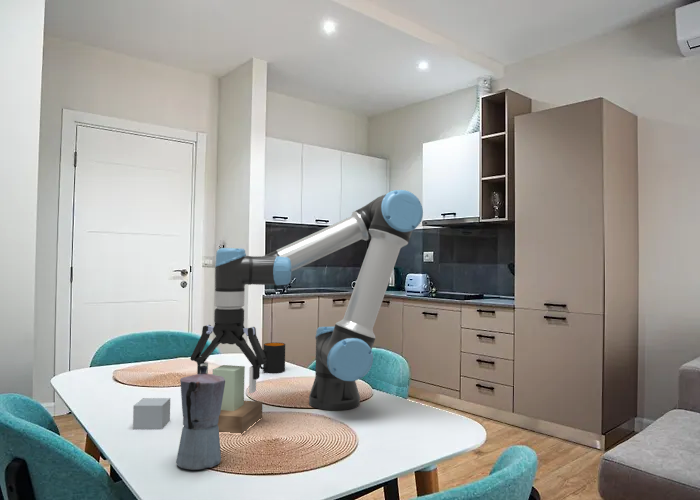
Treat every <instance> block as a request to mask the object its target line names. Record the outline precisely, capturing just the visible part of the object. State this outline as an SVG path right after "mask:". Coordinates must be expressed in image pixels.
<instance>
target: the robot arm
mask: <svg viewBox="0 0 700 500" xmlns="http://www.w3.org/2000/svg"><path fill="white" fill-rule="evenodd" d="M351 213H352V214H351V215H350V216H349V217H346V218H344V219H343V220H340V221H338V222H336V223H334V224H331V225H329V226H327V227H324V228H323V229H320V230H318V231H316V232H315V231H314V233H312V234H309V235H307V236H305V237H303V238H300V239H298V240H296V241H294V242H292V243H289V244H287V245H285V246H282V247H281V248H278V249H276V250H274V251H272V252H270V253H267V254H264V255H263V256H258V255H257V256H256V255H255V256H254V255H253V256H252V255H247V253H246V250H245V248H240V247H238V248H234V247H233V248H232V247H221V248H219V249H217V251H216V254H215V265H214V270H215V271H214V282H215V283H214V306H215V307H216V308H215V309H214V314H213V315H214V316H213V317H214V319H213V320H214V325H213V326H212V325H211V324H207V325H203V326H202V328H201V329H202V332H201V335H200V337H199V339H198V342H197V344H196V345H195V347H194V349H193V351H192V354H191V356H190V360H191V361H193V362H195V363H196V364H197V369H196V371H197V372H196V374H200V373H201V372H200V366H207V371H206V374H209V362H208V361H207V359H208V358H209V357H210V356H211V355H212V353H213V352H214V351H215V350H216V348H218V346H219V345H220V344H221V345H226V344H228V345H236V346H237V347H238V348H239V349H240V351H241V352H242V354H244V355H243V356H245V357H246V358H247V360H248V362H249V363H250V364H251V366H250V367H249V377H248V378H249V379H248V381H249V382H248V383H249V385H248V389H249V390H248V394H253V393H255V392H256V391H257V380H259V379H260V375H261V374H260V372H261V370H260V365H261V366H263V364H265V363H267V359H266V356H265V354H264V352H263V350H264V349H263V347H262V346H261V343H260V341H259V338H258V337H257V328H256V327H255V326H251V327H245V309H244V308H243V307H244V306H245V289H246V288H245V287H246V285H248V286H251V285H258V286H259V285H260V286H262V285H263V286H285V285H289V284H290V282H291V280H292V272H293V271H296V270H298V269H300V268H302V267H304V266H306V265H309V264H311V263H313V262H315V261H317V260H319V259H322V258H324V257H326V256H328V255H330V254H332V253H334V252H337V251H339V250H341V249H344V248H345V247H348V246H351V245H352V244H354V243H357V242H359V241H360V240H362V241H363V240H364V241H369V240H370V242H369V244H368V248H367V250H366V253H365V256H364V259H363V262H362V263H361V267H360V270H359V272H358V276H357V279H356V282H355V285H354V287H353V290H352V293H351V296H350V298H349V301H348V305H347V307H346V310H345V313H344V316H343V318H342V319H341V320H339V321H337V322H335V325H334V326H319V327H317V329H316V333H315V373H314V374H315V377H314V381H313V383H312V387H311V390H310V392H309V396H308V404H309V406H310V407H312V408H315V409H320V410H325V411H345V410H351V409H355V408H358V407H359V405H360V404H361V396H360V392H359V390H358V389H359V388H358V385H357V383H356V381H358V380H361V379H363V378H364V377H365V376H366V375H367V374H368V373H369V372H370V370H371V368H372V366H373V363H374V354H373V347H374V343H375V340H376V334H375V333H374V330H373V328H374V326H375V324H376V320H377V318H378V314H379V312H380V309H381V307H382V303H383V301H384V299H385V298H384V297H385V294H386V292H387V289H388V285H389V283H390V281H391V277H392V273H393V272H394V270H395V269H394V268H395V266H396V262H397V259H398V256H399V254H400V251H401V249H402V248H403V247H406V246H407V245H408V244H409V241H410V239H411V236H412V233H413V231H414V230H416V229H417V228H418V226H419V225H420V224H421V223H422V219H423V216H424V208H423V205H422V203H421V201H420V199H419V198H418V197H417V195H415V194H414V192H413V193H412V192H411V191H409V190H406V189H395V190H392V191H391V190H390V191H389V192H388V193H386V194H382V195H380V196H378V197H376V198H375V199H372V201H370V202H369V203H367V204H366V205H364V206H362V207H361V208H359V209H356V210H353V211H352V212H351ZM212 334H214V335H215V337H214V338H213V340H211V342H210V343H209V345H208V346H207V347H206V348H205V346H206V344H207V343H208V340H209V338H210V337H211V335H212ZM244 334H246V337H247V338H248V341H249V343H250V345H251V347H250V346H249V345H248V343H247V341H246V339H245V338H244V337H243V336H244ZM204 348H205V350H204ZM251 348H252V349H251ZM203 350H204V351H203Z"/></svg>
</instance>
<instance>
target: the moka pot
mask: <svg viewBox="0 0 700 500" xmlns="http://www.w3.org/2000/svg"><path fill="white" fill-rule="evenodd" d="M206 371H207V366H200V372H201V373H200V374H197V373H196V374H192V375H188V376H184V377H181V378H180V396H181V410H182V425H183V427H182V429H181V436H180V438H179V439H180V440H179V445H178V450H177V455H176V459H175V463H176V467H177V466H178V467H179V468H181V469H185V470H190V471H191V470H192V471H194V470H195V471H196V470H205V469H209V468H213V467H215V466H217V465H219V464H220V463H221V461H222V455H221V454H222V453H221V443H220V442H221V441H220V434H219V427H218V425H217V424H218V420H219V415H220V412H221V406H222V399H223V393H224V387H225V379H224V377H221V376H217V375H213V373H212V374H211V373H208V374H206Z"/></svg>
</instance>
